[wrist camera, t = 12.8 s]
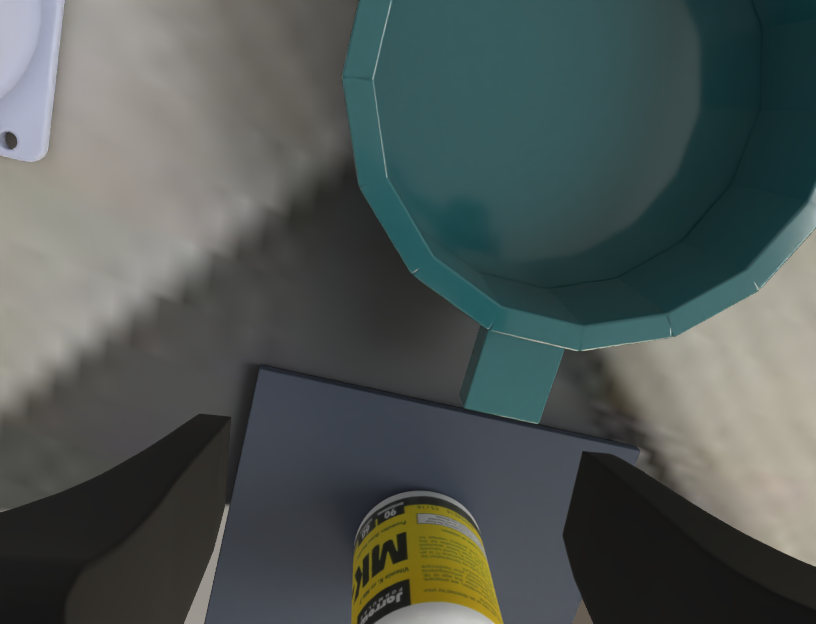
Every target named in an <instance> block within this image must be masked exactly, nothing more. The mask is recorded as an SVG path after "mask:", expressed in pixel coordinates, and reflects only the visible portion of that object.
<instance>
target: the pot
mask: <svg viewBox="0 0 816 624" xmlns="http://www.w3.org/2000/svg"><path fill="white" fill-rule="evenodd" d="M342 77H343V78H342V86H343V92H344V98H345V105H346V111H347V118H348V124H349V130H350V137H351V143H352V150H353V156H354V162H355V169H356V175H357V182H358V186H359V187H360V191H361V192H362V194H363V196H364V197H365V199H366V201H367V202H368V204H369V206H370V207H371V209H372V211H373V212H374V214H375V216H376V217H377V219H378V221H379V222H380V224H381V226H382V227H383V229H384V231H385V232H386V234H387V236H388V237H389V239H390V241H391V242H392V244H393V246H394V247H395V249H396V251H397V252H398V254H399V256H400V257H401V259H402V261H403V262H404V264H405V266H406V267H407V269H408V270H409V272H410V273H411V274H413V276H414V277H415V278H416V279H418V280H419V281H421V282H422V283H423V284H425V285H426V286H427V287H429V288H430V289H432V290H433V291H434V292H436V293H437V294H438V295H440V296H441V297H443V298H444V299H445V300H447V301H448V302H449V303H451V304H452V305H454V306H455V307H456V308H458V309H459V310H460V311H462V312H463V313H465V314H466V315H467V316H469V317H470V318H471V319H473V320H474V321H476V322H477V323H478V324H480V325H481V326H480V329H479V332H478V336H477V339H476V342H475V345H474V349H473V352H472V355H471V358H470V362H469V365H468V368H467V371H466V375H465V378H464V381H463V384H462V388H461V391H460V398H461V401H462V404H463V407H464V408H466V409H470V410H475V411H479V412H484V413H489V414H493V415H498V416H503V417H507V418H512V419H516V420H521V421H526V422H530V423H535V424H539V422H540V419H541V416H542V413H543V410H544V407H545V404H546V401H547V399H548V396H549V393H550V390H551V387H552V384H553V381H554V378H555V376H556V373H557V370H558V367H559V364H560V361H561V358H562V355H563V352H564V350H565V349H568V350H573V351H587V350H594V349H600V348H607V347H614V346H620V345H627V344H633V343H640V342H647V341H653V340H660V339H667V338H671V337H676V336H677V335H679V334H681V333H683V332H685V331H687V330H688V329H690V328H692V327H694V326H696V325H697V324H699V323H701V322H703V321H705V320H707V319H708V318H710V317H712V316H714V315H716V314H718V313H719V312H721V311H723V310H725V309H727V308H728V307H730V306H732V305H734V304H736V303H738V302H739V301H741V300H743V299H745V298H747V297H749V296H750V295H752V294H754V293H756V292H758V291H759V289H760V288H762V287H763V286H764V285H765V284H766V283H767V281H768V280H769V279H770V278H771V277H772V276H773V275H774V274H775V273H776V272H777V270H778V269H779V268H780V267H781V266H782V265H783V264H784V263H785V262H786V261H787V259H788V258H789V257H790V256H791V255H792V254H793V253H794V252H795V251H796V250H797V248H798V247H799V246H800V245H801V244H802V243H803V242H804V241H805V240H806V239H807V237H808V236H809V235H810V234H811V233H812V232H813V231H814V230H815V229H816V0H358V4H357V9H356V13H355V17H354V22H353V26H352V31H351V35H350V40H349V44H348V49H347V53H346V58H345V62H344V67H343V71H342Z"/></svg>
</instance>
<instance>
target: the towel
mask: <svg viewBox="0 0 816 624" xmlns="http://www.w3.org/2000/svg"><path fill="white" fill-rule="evenodd" d="M582 451H589V452H599V453H610V454H613V455H615V456H617V457H619V458H621V459H623V460H625V461H626V462H628V463H630V464H631V465H633V466H635V464H636V461H637V459H638V456H639V454H640V450H639V449H638V448H637V446H633V445H628V444H623V443H619V442H614V441H610V440H605V439H600V438H596V437H591V436H587V435H582V434H577V433H573V432H568V431H563V430H559V429H554V428H550V427H545V426H540V425H536V424H531V423H526V422H522V421H517V420H513V419H508V418H503V417H499V416H494V415H489V414H485V413H480V412H476V411H471V410H466V409H462V408H457V407H453V406H448V405H443V404H439V403H434V402H429V401H425V400H420V399H416V398H411V397H406V396H402V395H397V394H392V393H388V392H383V391H379V390H374V389H369V388H365V387H360V386H355V385H351V384H346V383H342V382H337V381H332V380H328V379H323V378H319V377H314V376H309V375H305V374H300V373H295V372H291V371H286V370H282V369H277V368H272V367H268V366H263V365H261V366H260V368H259V372H258V377H257V381H256V386H255V390H254V395H253V400H252V404H251V409H250V414H249V418H248V423H247V428H246V432H245V437H244V442H243V446H242V451H241V455H240V460H239V465H238V469H237V474H236V479H235V483H234V488H233V493H232V497H231V502H230V507H229V511H228V516H227V521H226V525H225V530H224V535H223V539H222V544H221V548H220V554H219V558H218V562H217V567H216V572H215V576H214V581H213V586H212V590H211V595H210V600H209V604H208V609H207V613H206V618H205V623H204V624H351V615H352V583H353V553H354V542H355V538H356V534H357V531H358V529H359V527H360V525H361V523H362V521H363V520H364V518H365V517H366V515H367V514H368V513H369V512H370V511H371V510H372V509H373V508H374V507H375V506H376V505H378V504H379V503H380V502H382V501H384V500H385V499H387V498H389V497H392V496H394V495H397V494H399V493H404V492H409V491H430V492H435V493H440V494H443V495H446V496H448V497H450V498H452V499H454V500H456V501H457V502H459V503H460V504H461V505H463V506H464V507H465V508H466V509H467V510H468V511H469V512H470V514H471V515H472V516H473V518H474V520H475V521H476V523H477V525H478V528H479V531H480V534H481V537H482V541H483V546H484V549H485V554H486V557H487V561H488V565H489V569H490V573H491V577H492V581H493V585H494V589H495V593H496V597H497V601H498V605H499V609H500V612H501V616H502V620H503V624H572V622H573V620H574V617H575V615H576V612H577V609H578V607H579V604H580V602H581V600H582V596H581V594H580V592H579V589H578V587H577V585H576V582H575V580H574V577H573V574H572V570H571V567H570V563H569V560H568V556H567V552H566V548H565V544H564V540H563V536H562V534H563V530H564V526H565V522H566V518H567V513H568V509H569V505H570V501H571V497H572V493H573V488H574V484H575V480H576V476H577V472H578V468H579V463H580V459H581V455H582Z"/></svg>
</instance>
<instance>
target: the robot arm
mask: <svg viewBox="0 0 816 624" xmlns="http://www.w3.org/2000/svg"><path fill="white" fill-rule="evenodd" d="M64 4H65V0H0V156H4V157H8V158H12V159H16V160H20V161H24V162H34V161H38V160H41V159H43V158H44V157H45V155H46V154H47V151H48V147H49V138H50V129H51V120H52V111H53V103H54V94H55V85H56V76H57V67H58V58H59V49H60V40H61V31H62V22H63V13H64ZM8 132H11V133H13V134H14V135H15V137H16V138H17V145H16V147H15V148H14V149H13V148H11V147H9V146H8V144H7V143H6V139H5V137H6V135H7V133H8ZM230 426H231V417H227V416H217V415H207V414H199V415H197V416H195V417H194V418H192V419H191V420H189V421H188V422H186V423H185V424H183V425H182V426H180V427H179V428H177V429H176V430H174V431H173V432H171V433H170V434H169V435H167V436H165V437H164V438H162V439H161V440H159V441H158V442H156V443H155V444H153V445H152V446H150V447H149V448H147V449H145V450H144V451H142V452H140V453H139V454H137V455H135V456H133V457H131V458H130V459H128V460H126V461H124V462H123V463H121V464H119V465H117V466H116V467H114V468H112V469H110V470H109V471H107V472H105V473H103V474H101V475H99V476H97V477H94V478H92V479H90V480H88V481H86V482H84V483H81V484H79V485H77V486H74V487H72V488H70V489H67V490H65V491H63V492H60V493H58V494H55V495H52V496H49V497H46V498H43V499H40V500H37V501H34V502H32V503H29V504H26V505H23V506H20V507H17V508H14V509H11V510H7V511H4V512H0V624H184V621H185V619H186V617H187V614H188V612H189V609H190V607H191V604H192V602H193V600H194V597H195V595H196V592H197V590H198V588H199V585H200V583H201V580H202V578H203V575H204V573H205V570H206V568H207V565H208V563H209V560H210V558H211V555H212V553H213V550H214V546H215V542H216V539H217V535H218V531H219V528H220V524H221V520H222V516H223V512H224V508H225V495H226V481H227V467H228V454H229V440H230ZM562 536H563V540H564V544H565V548H566V552H567V556H568V560H569V563H570V567H571V570H572V574H573V577H574V580H575V582H576V585H577V587H578V589H579V592H580V594H581V596H582V599H583V601H584V603H585V605H586V608H587V610H588V612H589V615H590V617H591V619H592V621H593V624H816V567H815V566H812V565H810V564H807V563H805V562H802V561H800V560H798V559H796V558H793V557H791V556H789V555H787V554H784V553H782V552H780V551H778V550H776V549H774V548H772V547H770V546H768V545H766V544H764V543H762V542H760V541H758V540H756V539H754V538H752V537H750V536H748V535H746V534H744V533H742V532H741V531H739V530H737V529H735V528H733V527H731V526H730V525H728V524H726V523H725V522H723V521H721V520H719V519H718V518H716V517H714V516H712V515H711V514H709V513H707V512H706V511H704V510H702V509H701V508H699V507H697V506H696V505H694V504H693V503H691V502H689V501H688V500H686V499H685V498H683V497H682V496H680V495H678V494H677V493H675V492H674V491H672V490H671V489H669V488H668V487H666V486H664V485H663V484H661V483H660V482H658V481H657V480H655V479H654V478H652V477H651V476H649V475H647V474H646V473H644V472H643V471H641V470H640V469H638V468H636V467H635V466H633V465H631V464H630V463H628V462H626V461H625V460H623V459H621V458H619V457H617V456H615V455H613V454H610V453H599V452H589V451H582V455H581V459H580V463H579V468H578V472H577V476H576V480H575V484H574V488H573V493H572V497H571V501H570V505H569V509H568V513H567V518H566V522H565V526H564V530H563V534H562Z"/></svg>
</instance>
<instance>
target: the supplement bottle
mask: <svg viewBox="0 0 816 624" xmlns="http://www.w3.org/2000/svg"><path fill="white" fill-rule="evenodd" d="M351 624H503V620H502V616H501V612H500V609H499V605H498V601H497V597H496V593H495V589H494V585H493V581H492V577H491V573H490V569H489V565H488V561H487V557H486V554H485V549H484V546H483V541H482V537H481V534H480V531H479V528H478V525H477V523H476V521H475V520H474V518H473V516H472V515H471V514H470V512H469V511H468V510H467V509H466V508H465V507H464V506H463V505H461V504H460V503H459V502H457V501H456V500H454V499H452V498H450V497H448V496H446V495H443V494H440V493H435V492H430V491H409V492H404V493H399V494H397V495H394V496H392V497H389V498H387V499H385V500H384V501H382V502H380V503H379V504H378V505H376V506H375V507H374V508H373V509H372V510H371V511H370V512H369V513H368V514H367V515H366V517H365V518H364V520H363V521H362V523H361V525H360V527H359V529H358V531H357V534H356V538H355V542H354V553H353V583H352V615H351Z"/></svg>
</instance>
